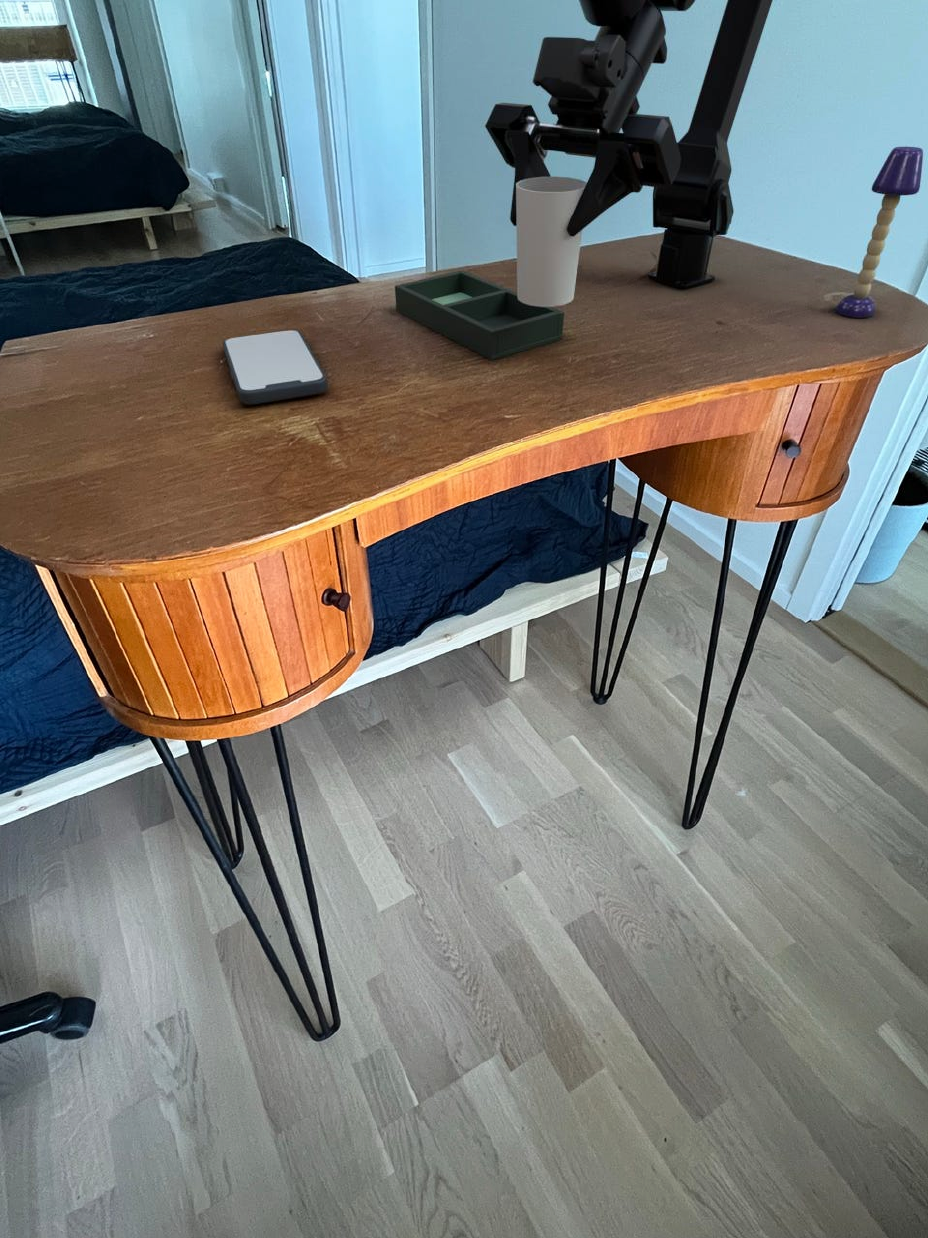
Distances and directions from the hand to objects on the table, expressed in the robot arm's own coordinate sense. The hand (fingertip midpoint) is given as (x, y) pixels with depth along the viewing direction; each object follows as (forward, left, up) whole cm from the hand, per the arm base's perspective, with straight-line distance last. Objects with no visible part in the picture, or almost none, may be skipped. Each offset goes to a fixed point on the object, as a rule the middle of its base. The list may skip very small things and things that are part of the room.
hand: (540, 228), depth 67 cm
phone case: (+23, -14, -13) cm, 30 cm away
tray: (-2, -12, -13) cm, 18 cm away
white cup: (-1, 0, -7) cm, 7 cm away
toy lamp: (-41, +12, -13) cm, 44 cm away
